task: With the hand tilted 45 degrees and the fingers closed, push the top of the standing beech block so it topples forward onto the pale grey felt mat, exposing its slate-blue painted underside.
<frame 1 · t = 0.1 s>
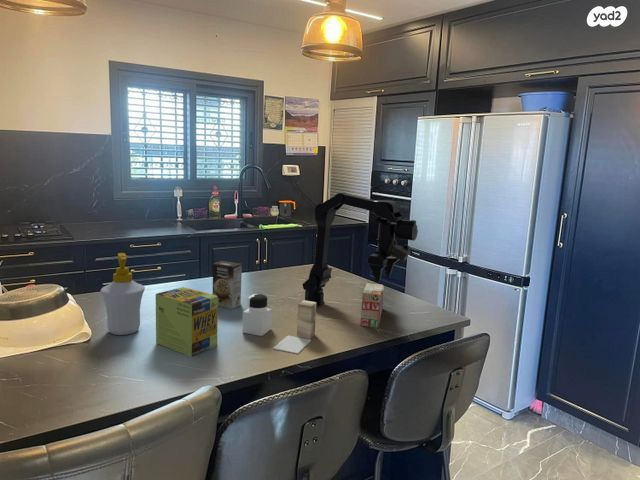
hand: (383, 279, 168), 15 cm above the counter, tool pointing down, fingers open, 9 cm apart
felt mat: (292, 344, 144), on the counter
soap bottle: (124, 331, 148), on the counter
protein box: (186, 345, 141), on the counter
stack of blocks: (372, 317, 173), on the counter
medicine bottle: (257, 331, 154), on the counter
coffee box: (226, 305, 178), on the counter
beech block: (305, 335, 152), on the counter
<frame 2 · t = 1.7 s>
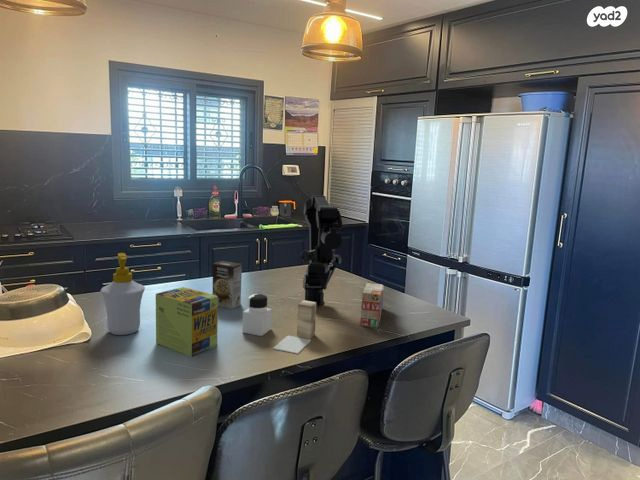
hand: (324, 287, 165), 12 cm above the counter, tool pointing down, fingers closed
nothing on the counter moved.
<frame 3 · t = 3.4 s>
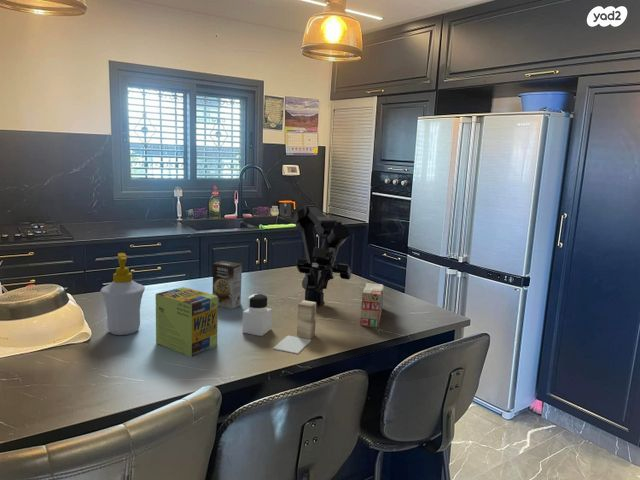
hand: (316, 289, 157), 13 cm above the counter, tool tilted 45°, fingers closed
nothing on the counter moved.
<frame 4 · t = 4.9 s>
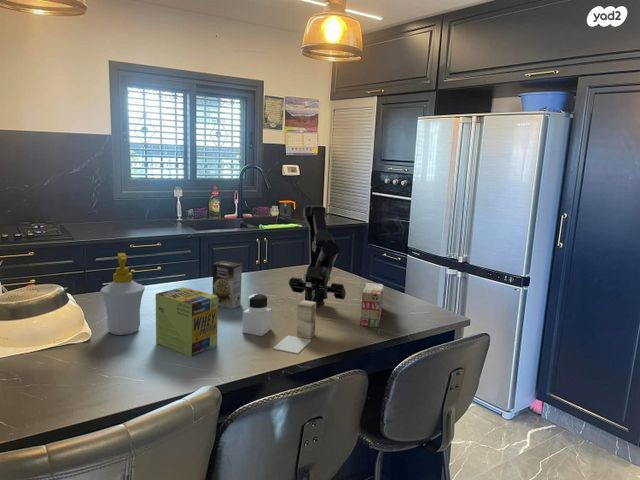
hand: (309, 310, 152), 8 cm above the counter, tool tilted 45°, fingers closed
beech block: (305, 335, 152), on the counter, touching gripper
everything else where it was.
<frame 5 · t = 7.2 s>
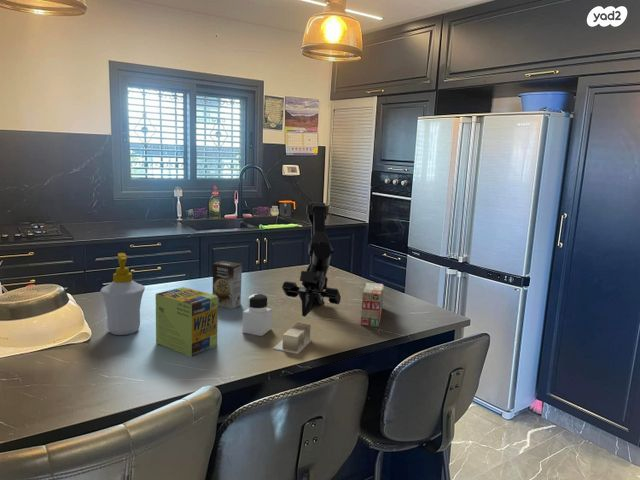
hand: (303, 315, 148), 8 cm above the counter, tool tilted 45°, fingers closed
beech block: (303, 330, 149), point 3 cm above the counter, tilted 90°, touching felt mat
everything else where it was.
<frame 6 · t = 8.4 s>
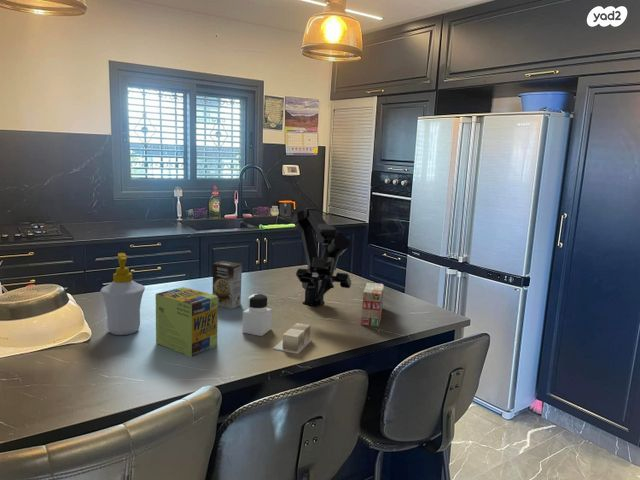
hand: (316, 299, 158), 10 cm above the counter, tool tilted 45°, fingers closed
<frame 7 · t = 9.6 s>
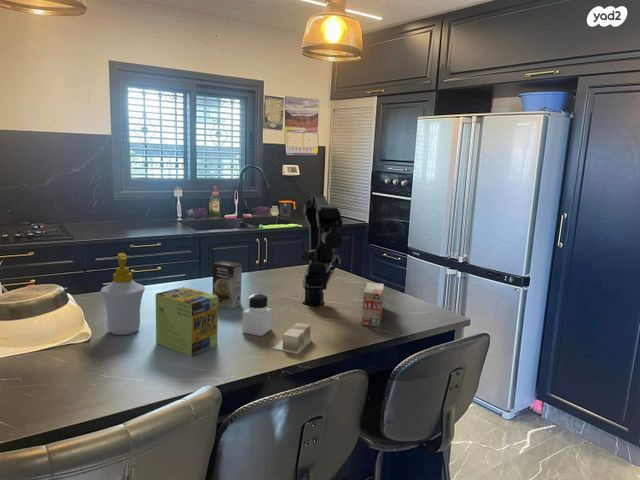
hand: (324, 287, 164), 12 cm above the counter, tool pointing down, fingers closed
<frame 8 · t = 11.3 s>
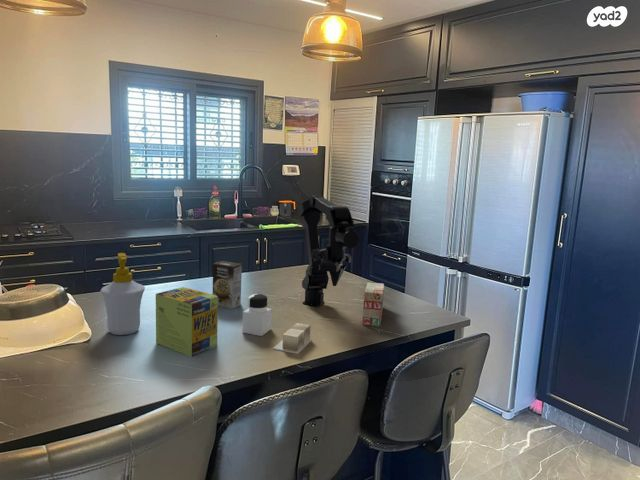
hand: (334, 285, 167), 12 cm above the counter, tool pointing down, fingers closed
at the end: beech block tilted 90°; beech block 6.4 cm from the felt mat (horizontally); the gripper is holding nothing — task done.
